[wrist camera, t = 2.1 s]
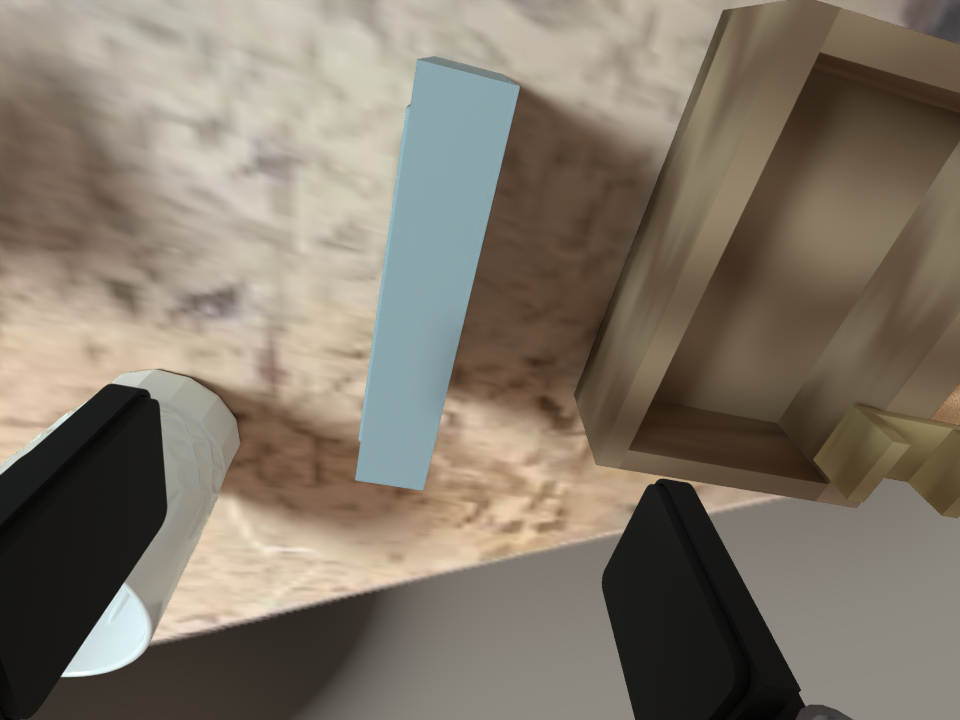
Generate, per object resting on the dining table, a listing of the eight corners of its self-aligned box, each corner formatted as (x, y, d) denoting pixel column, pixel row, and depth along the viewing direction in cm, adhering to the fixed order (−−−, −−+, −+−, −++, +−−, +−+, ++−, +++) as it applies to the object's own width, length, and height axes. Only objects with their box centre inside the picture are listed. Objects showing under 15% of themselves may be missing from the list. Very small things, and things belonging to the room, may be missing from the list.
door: (430, 55, 18) (410, 57, 12) (501, 73, 19) (520, 86, 12) (381, 367, 25) (350, 479, 18) (434, 376, 25) (423, 490, 18)
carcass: (723, 10, 18) (862, -12, 11) (1053, 108, 19) (1328, 135, 13) (574, 394, 25) (608, 505, 19) (818, 439, 27) (922, 554, 21)
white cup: (262, 382, 25) (154, 558, 16) (244, 498, 28) (149, 691, 20) (81, 337, 23) (-144, 504, 15) (87, 465, 27) (-89, 658, 18)
